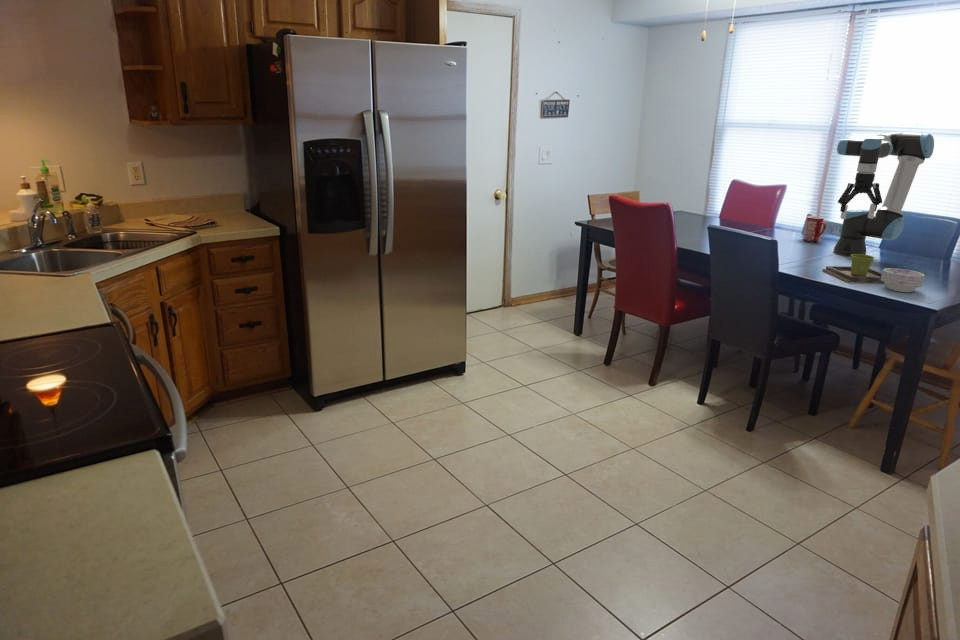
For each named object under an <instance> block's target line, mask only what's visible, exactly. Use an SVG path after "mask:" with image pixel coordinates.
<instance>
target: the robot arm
mask: <svg viewBox="0 0 960 640" xmlns="http://www.w3.org/2000/svg"><path fill="white" fill-rule="evenodd" d="M934 148H935V139H934V136H933V135H932V134H931V133H924V132H909V131H908V132H907V131H904V132H902V131H895V132H894V131H893V132H888V133H881V134H878V135H876V136H873V137H864V138H855V139H849V138H844V139H843V138H842V139H840V140H839V142H838V143H837V147H836V152H837V155H839V156H840V155H841V156H844V157H845V156H849V157H850V156H851V157H859V159H858V164H857V169H856V175H855V179H854V181H855V182H854V183H851V182H849V183H847V186H846V189H845V190H844V192H843V193H842V194H841V196H840V197H839V198H838V200H837V203H838V204H840V209H839V211H840V217H839V218H840V219H842V220H843V222H842V226H841V231H840V236H839V239H838V240H837V242H836V243H835V245H834V248H833V251H832V252H833V253H834V254H837V255H840V256H846V257H851V254H863V255H867V247H866V246H867V244H866V238H867V237H868V238H873V239H874V238H875V239H880V240H884V241H894V240H895V239H897V238H898V237H899V236H900V235H901V233H902V232H903V230H904V229H905V228H904V227H905V224H906V220H905V218H903V217H904V214H903V213H902V209H903V208H904V206H905V203H906V199H907V197H908V195H909V192H910V189H911V186H912V185H913V181H914V179H915V176H916V174H917V171H918V169H919V166H921V165H922V164H924V163H925V160H926V159H931V156H932V155H933V152H934ZM889 156H893V157H894V156H895V157H896V159H897V160H898V164H897V167H896V170H895V173H894V174H893V177H892V180H891V183H890V185H889V188H888V191H887V193H886V196H885V199H884V201H883V199H882V198H883V197H882V194H881V192H880V191H881V190H880V182H879V183H878V182H874V181H875V177H876V174H875V173H877V168H878V162H879V159H883V158H886V157H889ZM872 189H873V190H872ZM858 194H867V196H868V198H869V200H870V201H871V203H870V206H869V209H852V210H851V209H850V210H848V208H849V205H848V204H849V203H850V202H851V201H852V200H853V199H854V197H856V196H857V195H858ZM880 204H882V206H881V207H880V208H878V209H877V207H878V206H879V205H880ZM875 212H876V213H875Z"/></svg>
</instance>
